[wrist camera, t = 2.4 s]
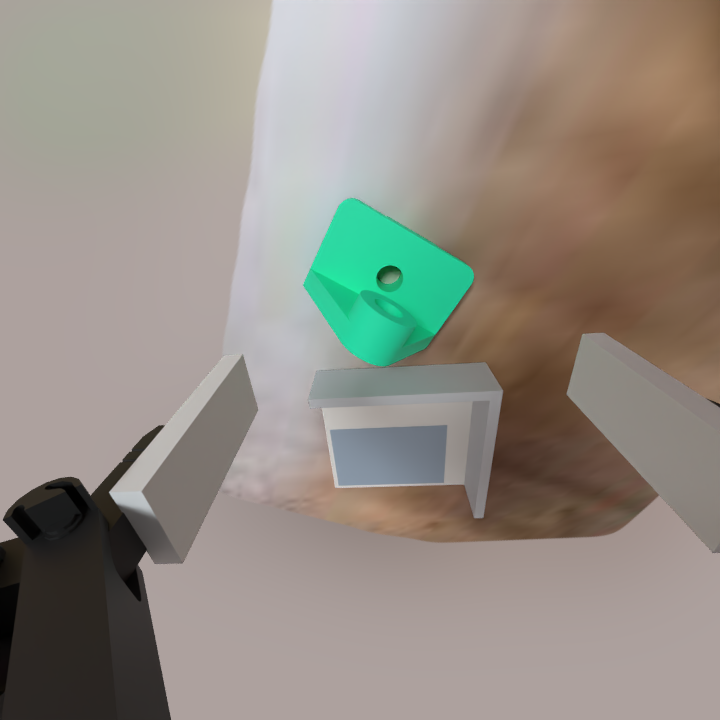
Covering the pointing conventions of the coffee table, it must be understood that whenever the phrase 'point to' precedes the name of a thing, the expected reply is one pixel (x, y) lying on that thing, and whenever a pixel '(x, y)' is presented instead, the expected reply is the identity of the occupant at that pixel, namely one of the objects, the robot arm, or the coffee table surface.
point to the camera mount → (383, 284)
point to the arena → (411, 426)
